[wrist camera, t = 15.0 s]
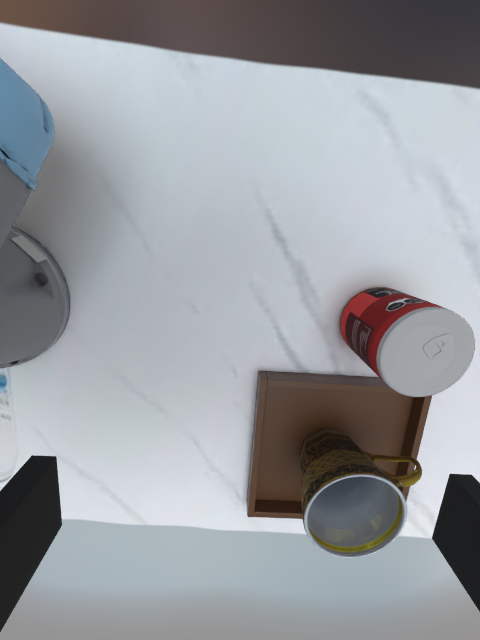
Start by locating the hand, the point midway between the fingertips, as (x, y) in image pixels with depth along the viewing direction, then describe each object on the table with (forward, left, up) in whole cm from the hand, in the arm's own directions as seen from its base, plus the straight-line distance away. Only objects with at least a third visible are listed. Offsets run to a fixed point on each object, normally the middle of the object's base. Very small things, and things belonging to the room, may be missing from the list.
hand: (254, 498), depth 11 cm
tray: (+18, -10, -27) cm, 34 cm away
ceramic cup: (+19, -10, -26) cm, 34 cm away
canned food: (+14, +6, -27) cm, 31 cm away
